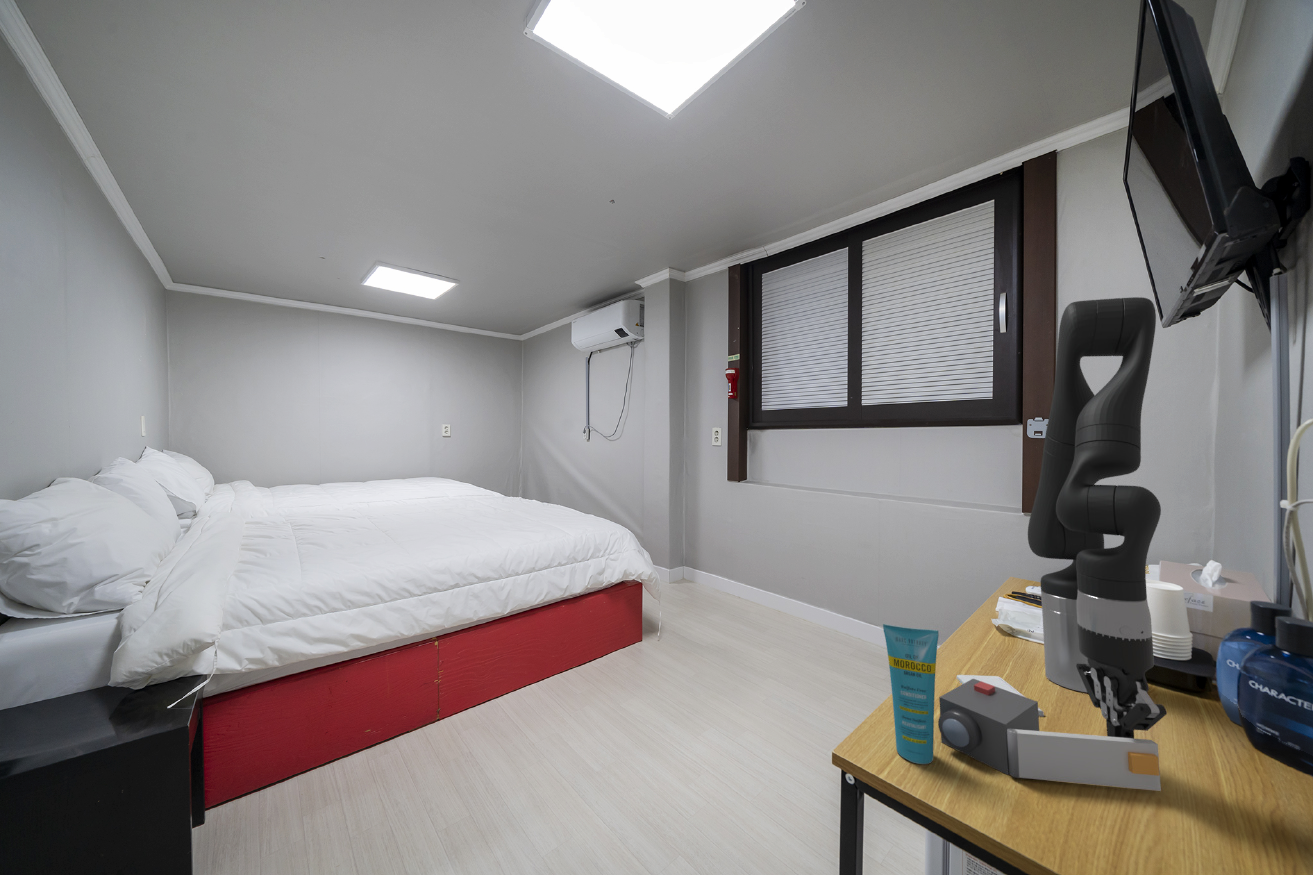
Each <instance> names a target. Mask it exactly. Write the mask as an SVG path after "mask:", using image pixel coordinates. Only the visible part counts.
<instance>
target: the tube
mask: <svg viewBox="0 0 1313 875" xmlns="http://www.w3.org/2000/svg"><path fill="white" fill-rule="evenodd" d="M882 629H883V633H884V637H885V645H886V650H887V659H888V667H889V674H890V684H891V685H890V686H891V694H892V705H893V706H892V707H893V709H892V710H893V719H894V734H895V747H896V751H897V753H898V755H899V756H901V758H903V759H905V760H907V761H909V762H911V763H914V764H918V765H928V764H930V763H932V762H933V761H934V732H935V731H934V730H935V693H936V692H935V691H936V690H935V689H936V688H935V687H936V666H937V656H938V654H937V653H938V643H939V630H936V629H929V628H928V629H927V628H913V627H906V626H905V627H904V626H896V625H892V624H891V625H890V624H886V623H883V624H882Z"/></svg>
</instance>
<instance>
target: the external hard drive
mask: <svg viewBox="0 0 1313 875" xmlns="http://www.w3.org/2000/svg"><path fill="white" fill-rule="evenodd" d="M957 679H958V680H959V681H960V682H959V681H958V680H957ZM971 679H976V680H979V681H982V682H984V683H987V684H990V685H993V686H995V687H998V688H1001V689H1004V690H1007V691H1009V692H1012V693H1015V694H1018V695H1020V696H1023V697H1026V696H1025V695H1023V694H1022V693H1021V692H1019V691H1018V689H1016V688H1015V687H1013V686H1012V685H1011V684H1010V683H1008V682H1007V681H1006V680H1004V679H1003V678H1002V677H1001V676H998V675H976V674H975V675H973V674H957V675H956V680H957V681H958V682H959V684H961V683H962V684H964V683H966V682H968V681H970V680H971ZM962 684H961V685H962ZM1038 715H1039V717H1044V716H1045V714H1044V710H1042V709H1041V708H1040V707H1038Z"/></svg>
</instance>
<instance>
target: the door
mask: <svg viewBox="0 0 1313 875" xmlns="http://www.w3.org/2000/svg"><path fill="white" fill-rule="evenodd" d="M1007 739H1008V758H1009V775H1010V776H1011V777H1013V778H1016V779H1020V778H1021V779H1031V780H1032V779H1033V780H1041V781H1052V782H1053V781H1054V782H1065V783H1071V784H1072V783H1073V784H1085V785H1094V786H1096V785H1097V786H1105V787H1106V786H1107V787H1114V788H1115V787H1118V788H1125V789H1126V788H1127V789H1136V790H1137V789H1138V790H1148V791H1158V792H1159V791H1160V792H1161V791H1162V787H1161V770H1160V756H1159V754H1160V753H1159V744H1158V743H1156V742H1155V741H1154V740H1152V739H1147V738H1146V739H1144V738H1135V737H1134V738H1121V737H1109V736H1107V735H1095V734H1094V735H1093V734H1082V733H1067V732H1056V731H1043V730H1042V731H1041V730H1039V731H1032V730H1019V729H1011V728H1008V729H1007Z"/></svg>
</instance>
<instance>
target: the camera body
mask: <svg viewBox="0 0 1313 875" xmlns="http://www.w3.org/2000/svg"><path fill="white" fill-rule="evenodd" d="M1023 696H1024V695H1023ZM1023 696H1020V695H1018V694H1015V693H1012V692H1009V691H1007V690H1004V689H1001V688H998V687H995V686H993V685H990V684H987V683H984V682H982V681H979V680H976V679H971V680H970V681H968V682H966V683H964V684H961V685H958V686H957V687H955V688H954V689H952V690H950V691H948V692H946V693H944V694H942V695H940V696H939V699H938V700H939V718H938V721H937V726H938V730H939V733H940V737H941V738H940V739H941V743H942V744H944V745H947V746H948V747H949V748H952V749H954V750H956V751H958V752H961V753H963V754H964V755H967V756H969V757H971V758H972V759H975V760H977V761H979V762H980V763H983V764H985V765H986V766H989V767H991V768H993V769H995V770H996V771H999V772H1001V773H1003V774H1005V775H1007V776H1009V775H1010V774H1009V758H1008V739H1007V729H1008V728H1011V729H1019V730H1032V731H1040V721H1039V720H1040V718H1039V717H1040V716H1039V715H1038V708H1039V702H1038V701H1036V700H1034V699H1031V698H1029V697H1026V696H1025V697H1023Z"/></svg>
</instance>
